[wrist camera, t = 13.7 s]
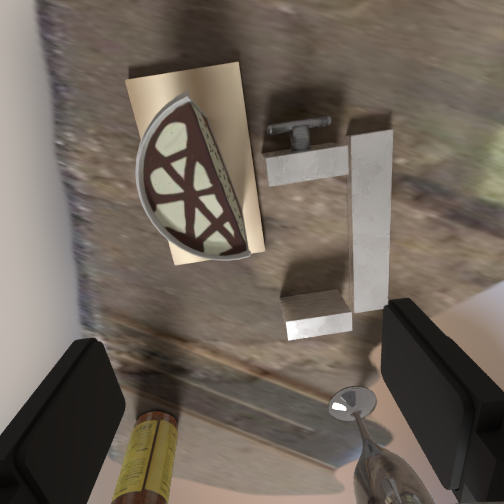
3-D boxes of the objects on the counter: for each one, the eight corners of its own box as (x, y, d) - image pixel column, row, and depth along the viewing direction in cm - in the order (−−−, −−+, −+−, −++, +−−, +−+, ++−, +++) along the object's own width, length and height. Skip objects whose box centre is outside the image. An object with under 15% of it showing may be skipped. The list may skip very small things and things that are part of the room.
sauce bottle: (132, 434, 44) (59, 651, 26) (140, 403, 42) (68, 616, 24) (176, 442, 46) (136, 655, 27) (186, 413, 43) (151, 623, 25)
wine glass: (369, 376, 43) (434, 497, 29) (386, 411, 45) (452, 537, 32) (317, 397, 44) (355, 524, 30) (336, 431, 46) (380, 561, 33)
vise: (386, 105, 29) (414, 101, 25) (382, 301, 38) (402, 326, 33) (257, 125, 29) (261, 126, 25) (282, 316, 38) (288, 343, 33)
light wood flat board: (238, 63, 27) (238, 61, 26) (264, 247, 34) (265, 251, 33) (128, 81, 28) (124, 79, 27) (176, 261, 34) (174, 265, 34)
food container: (138, 124, 28) (91, 123, 19) (201, 99, 27) (183, 86, 18) (193, 242, 33) (176, 288, 23) (247, 223, 32) (252, 262, 23)
